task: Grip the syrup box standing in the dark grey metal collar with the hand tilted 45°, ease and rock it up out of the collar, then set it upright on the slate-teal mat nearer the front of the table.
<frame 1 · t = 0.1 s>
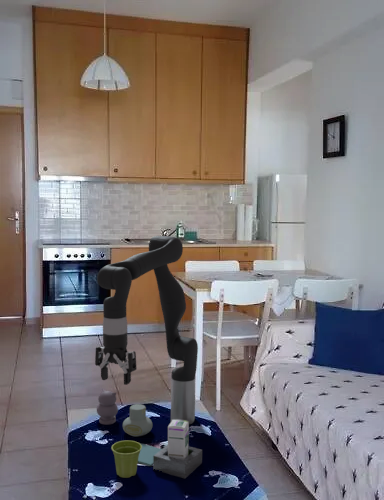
hand: (115, 381, 168), 29 cm above the table, tool pointing down, fingers open, 8 cm apart
plant pot: (126, 473, 170), on the table
mat: (145, 455, 182), on the table
collar: (177, 466, 175), on the table
air freshener: (137, 433, 199), on the table
cat figurine: (107, 421, 209), on the table
syrup box: (177, 466, 175), resting in collar
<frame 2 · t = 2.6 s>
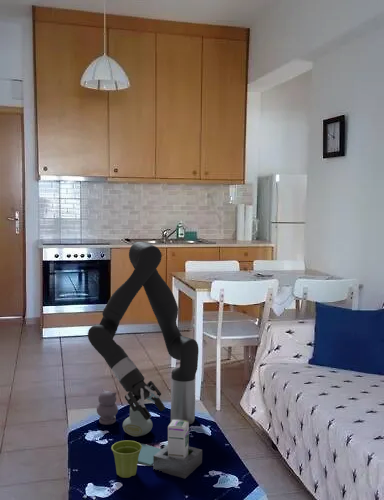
hand: (156, 414, 177), 16 cm above the table, tool tilted 45°, fingers open, 8 cm apart
nothing on the table moved.
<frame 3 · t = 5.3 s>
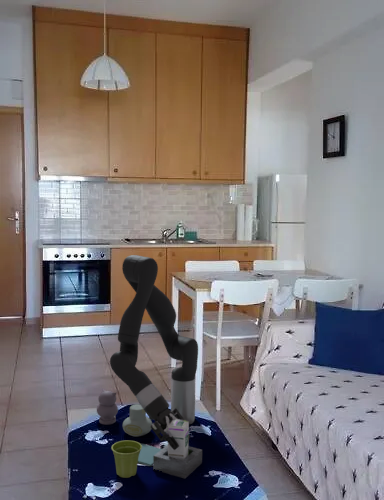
hand: (182, 443, 173), 8 cm above the table, tool tilted 45°, fingers closed on syrup box, 7 cm apart
syrup box: (177, 466, 175), resting in collar, touching gripper
everything else where it was.
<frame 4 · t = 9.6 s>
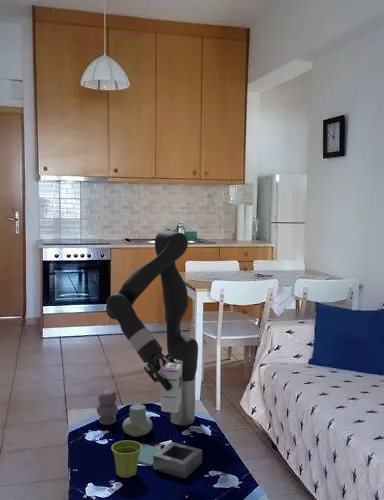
hand: (175, 385, 173), 26 cm above the table, tool tilted 45°, fingers closed on syrup box, 7 cm apart
syrup box: (171, 409, 175), point 18 cm above the table, touching gripper
everything else where it was.
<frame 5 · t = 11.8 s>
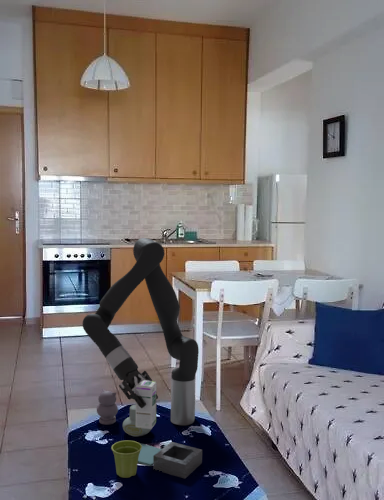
hand: (150, 402, 179), 18 cm above the table, tool tilted 45°, fingers closed on syrup box, 7 cm apart
syrup box: (145, 425, 181), point 10 cm above the table, touching gripper
everything else where it was.
when the fingers open (9 cm above the table, at t = 14.0 s): syrup box stays where it is, resting on mat.
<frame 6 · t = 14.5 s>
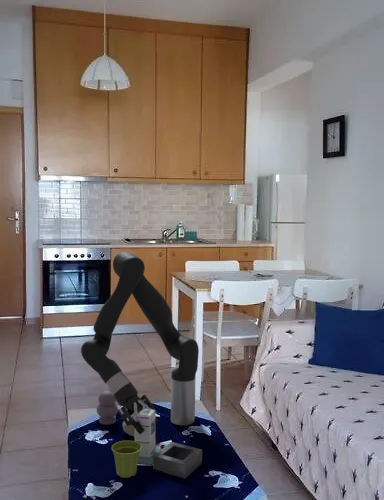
hand: (149, 427, 180), 10 cm above the table, tool tilted 45°, fingers open, 8 cm apart
syrup box: (145, 453, 182), resting on mat
everything else where it was.
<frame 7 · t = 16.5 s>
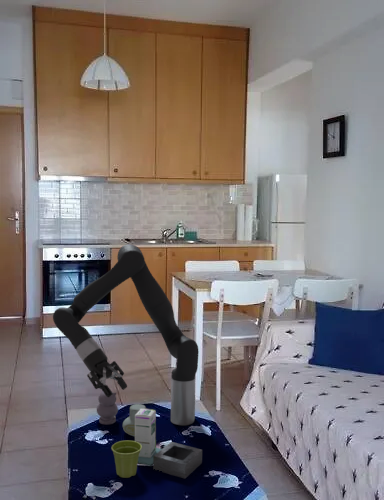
hand: (118, 392, 185), 20 cm above the table, tool tilted 45°, fingers open, 8 cm apart
nothing on the table moved.
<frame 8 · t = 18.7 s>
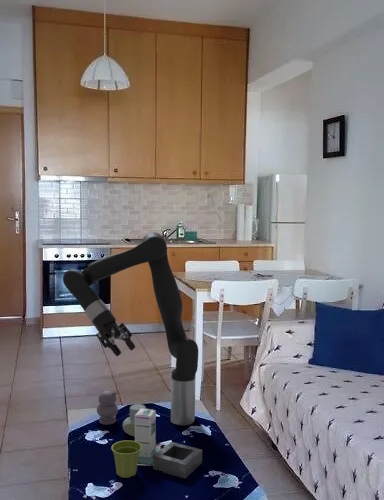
hand: (126, 351, 188), 33 cm above the table, tool tilted 45°, fingers open, 8 cm apart
nothing on the table moved.
at the end: syrup box inside the target area (0.2 cm from its centre), resting on mat; syrup box tilted 0°; the gripper is holding nothing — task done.
